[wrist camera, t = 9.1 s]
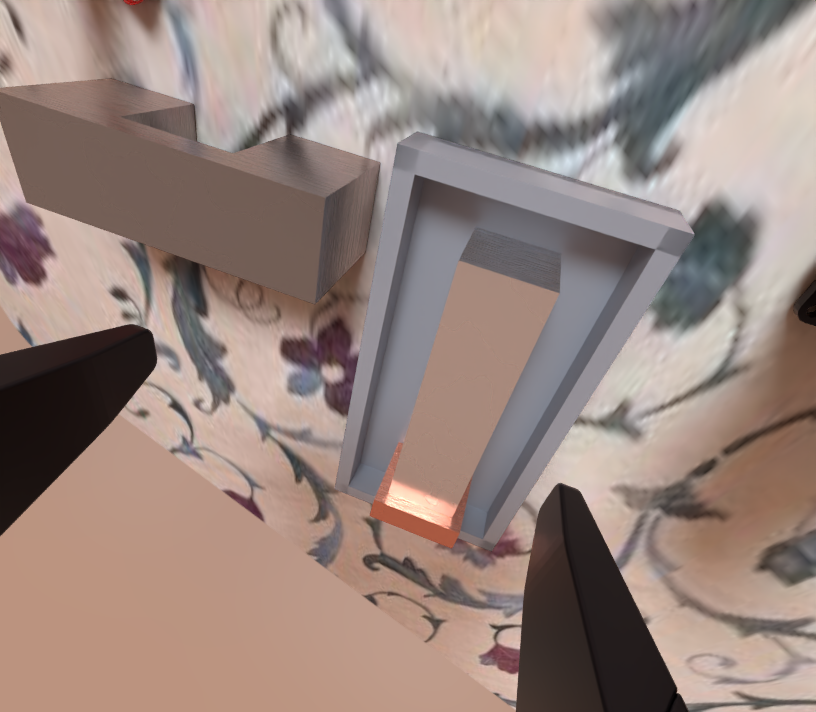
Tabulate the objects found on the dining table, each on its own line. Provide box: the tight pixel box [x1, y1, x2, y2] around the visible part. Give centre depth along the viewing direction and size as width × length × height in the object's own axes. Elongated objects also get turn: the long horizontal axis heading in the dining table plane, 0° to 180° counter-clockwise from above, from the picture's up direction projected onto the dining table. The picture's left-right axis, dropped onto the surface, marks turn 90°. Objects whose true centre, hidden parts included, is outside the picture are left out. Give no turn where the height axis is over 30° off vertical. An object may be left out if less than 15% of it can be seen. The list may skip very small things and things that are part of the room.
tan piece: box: [370, 227, 561, 548], centre depth 21 cm, size 15×5×4 cm, turn 168°
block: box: [0, 78, 380, 304], centre depth 18 cm, size 12×4×5 cm, turn 77°
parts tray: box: [335, 132, 695, 551], centre depth 22 cm, size 10×20×2 cm, turn 167°
